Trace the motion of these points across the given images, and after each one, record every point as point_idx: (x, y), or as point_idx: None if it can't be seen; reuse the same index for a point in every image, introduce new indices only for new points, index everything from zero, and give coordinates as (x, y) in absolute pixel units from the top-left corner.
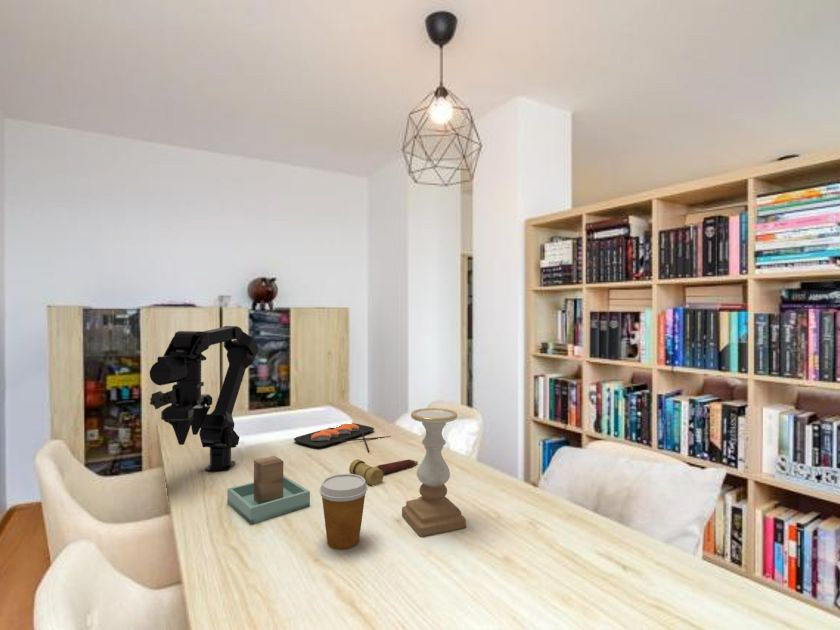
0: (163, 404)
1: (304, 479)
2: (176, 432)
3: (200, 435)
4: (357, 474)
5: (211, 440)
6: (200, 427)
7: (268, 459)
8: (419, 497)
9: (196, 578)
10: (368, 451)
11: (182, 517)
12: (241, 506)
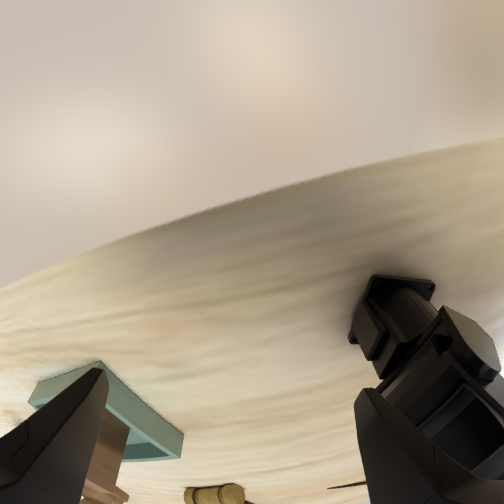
0: None
1: (228, 454)
2: (27, 427)
3: (440, 356)
4: (214, 491)
5: (396, 382)
6: (460, 390)
7: (87, 483)
8: (97, 498)
9: None
10: (337, 487)
11: (30, 283)
12: (49, 389)
